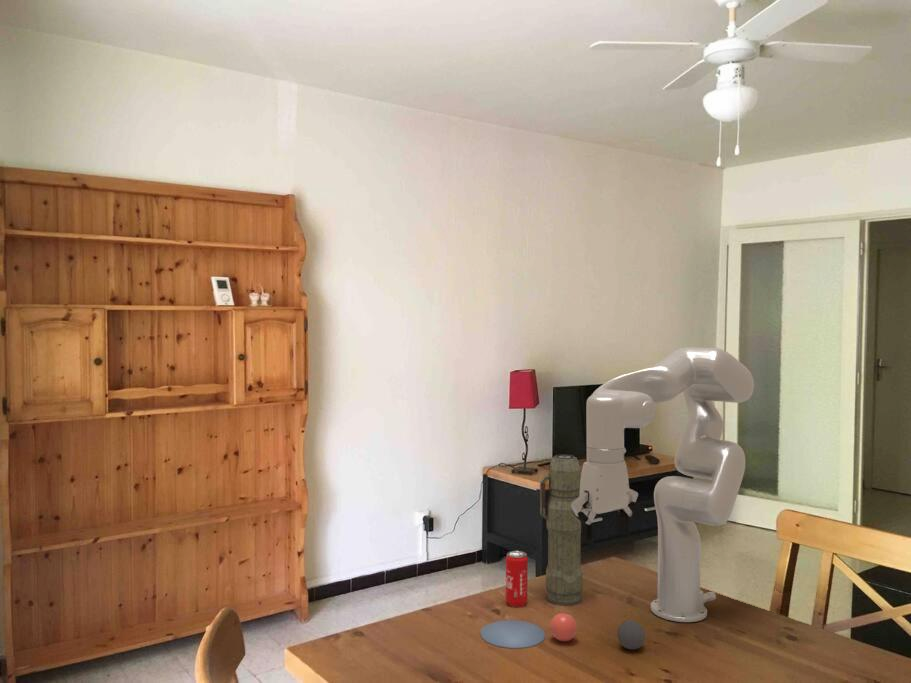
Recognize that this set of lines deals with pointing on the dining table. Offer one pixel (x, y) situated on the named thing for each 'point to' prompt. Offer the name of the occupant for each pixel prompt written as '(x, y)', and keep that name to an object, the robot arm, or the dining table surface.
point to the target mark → (512, 634)
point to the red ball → (563, 627)
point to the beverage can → (516, 578)
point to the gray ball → (631, 635)
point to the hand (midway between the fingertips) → (605, 538)
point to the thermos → (562, 531)
